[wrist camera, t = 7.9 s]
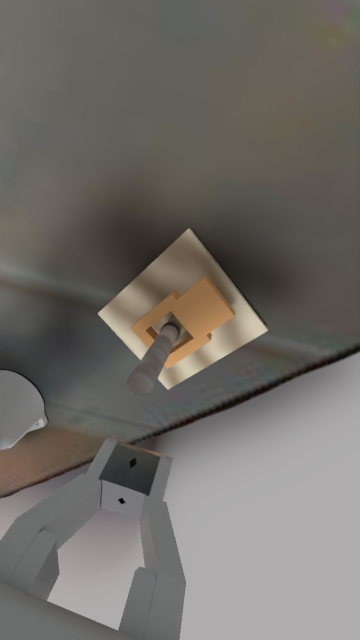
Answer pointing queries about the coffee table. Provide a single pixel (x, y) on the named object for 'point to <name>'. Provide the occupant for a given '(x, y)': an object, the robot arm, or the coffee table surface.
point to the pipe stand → (152, 288)
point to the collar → (188, 318)
